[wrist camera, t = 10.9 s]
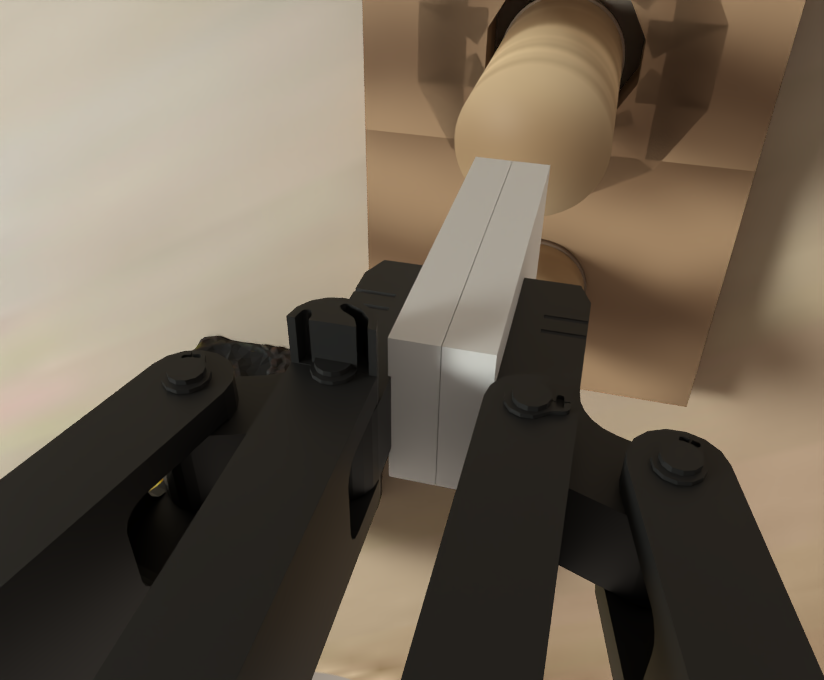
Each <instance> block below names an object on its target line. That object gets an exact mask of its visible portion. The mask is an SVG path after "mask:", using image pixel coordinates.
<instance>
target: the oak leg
mask: <svg viewBox="0 0 824 680" xmlns="http://www.w3.org/2000/svg"><path fill="white" fill-rule="evenodd" d="M624 62H625V43H624V37H623V34H622V31H621V28H620V26H619V24H618V22H617V20H616V19H615V17H614V16H613V14H612V13H611V12H610V11H609V10H608V9H607V8H606V7H605V6H604V4H603V3H602V2H600V1H599V0H534V1H532V2H531V3H529V4H528V5H527V6H525V7H524V8H523V9H522V10H521V11H520V12H519V13H518V14H517V15H516V16H515V18H514V19H513V20H512V22H511V24H510V25H509V27H508V29H507V31H506V33H505V35H504V38H503V40H502V42H501V44H500V45H499V47H498V49H497V50H496V52H495V54H494V55H493V57H492V59H491V60H490V62H489V64H488V65H487V67H486V69H485V70H484V72H483V74H482V75H481V77H480V79H479V80H478V82H477V84H476V85H475V87H474V89H473V90H472V92H471V94H470V96H469V97H468V99H467V101H466V102H465V104H464V106H463V108H462V109H461V112H460V114H459V117H458V120H457V124H456V128H455V137H454V139H455V152H456V158H457V161H458V165H459V167H460V170H461V172H462V174H463V176H464V178H466V176H467V174H468V172H469V170H470V167H471V165H472V163H473V161H474V159H475V157H482V158H491V159H500V160H509V161H512V162H513V161H518V162H527V163H535V164H544V165H550V172H549V180H548V188H547V196H546V204H545V212H544V216H548V215H554V214H557V213H560V212H563V211H565V210H568V209H570V208H572V207H573V206H575V205H577V204H578V203H580V202H581V201H583V200H584V199H585V198H586V197H588V195H589V194H590V193H591V192H592V191H593V190H594V189H595V188H596V187H597V185H598V184H599V183H600V181H601V179H602V178H603V176H604V174H605V172H606V169H607V167H608V164H609V160H610V156H611V150H612V142H613V134H614V126H615V118H616V111H617V103H618V95H619V87H620V79H621V75H622V72H623V68H624Z"/></svg>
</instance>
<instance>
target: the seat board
mask: <svg viewBox="0 0 824 680" xmlns="http://www.w3.org/2000/svg"><path fill="white" fill-rule="evenodd" d="M505 1H506V0H362V5H363V46H364V86H365V126H366V167H367V207H368V248H369V270H370V269H371V268H373V267H374V266H376V265H377V264H379V263H380V262H382V261H383V260H389V261H397V262H404V263H411V264H418V265H423V264H424V262H425V260H426V258H427V256H428V254H429V252H430V250H431V248H432V246H433V244H434V242H435V239H436V237H437V235H438V233H439V231H440V229H441V227H442V225H443V223H444V221H445V219H446V217H447V215H448V213H449V211H450V209H451V207H452V205H453V202H454V200H455V198H456V196H457V194H458V192H459V190H460V188H461V186H462V184H463V182H464V180H465V178H464V176H463V174H462V172H461V170H460V167H459V165H458V161H457V158H456V152H455V139H454V137H455V128H456V124H457V120H458V117H459V114H460V112H461V109H462V108H463V106H464V104H465V102H466V101H467V99H468V97H469V96H470V94H471V92H472V90H473V89H474V87H475V85H476V84H477V82H478V80H479V79H480V77H481V75H482V74H483V72H484V70H485V69H486V67H487V65H488V64H489V62H490V60H491V59H492V57H493V55H494V52H495V38H496V25H497V13H498V12H499V10H500V9H501V7H502V6H503V4H504V3H505ZM631 1H632V4H633V6H634V9H635V12H636V15H637V17H638V20H639V23H640V25H641V28H642V31H643V33H644V36H645V38H644V43H643V49H642V54H641V60H640V65H639V67H638V68H637V70H636V71H635V72H634V73H633V75H632V76H631V77H630V78H629V80H628V81H627V82H626V83H625V85H624V86H623V87H622V88H621V90H620V91H619V95H618V103H617V111H616V118H615V126H614V134H613V142H612V150H611V156H610V160H609V164H608V167H607V169H606V172H605V174H604V176H603V178H602V179H601V181H600V183H599V184H598V185H597V187H596V188H595V189H594V190H593V191H592V192H591V193H590V194H589V195H588V197H586V198H585V199H584V200H583V201H581V202H580V203H578V204H577V205H575V206H573V207H572V208H570V209H568V210H565V211H563V212H560V213H557V214H554V215H548V216H544V220H543V228H542V236H541V244H540V252H539V260H538V268H537V276H536V279H538V280H545V281H552V282H559V283H566V284H573V285H580V286H582V288H583V290H584V292H585V293H586V295H587V297H588V299H589V300H590V302H591V308H590V316H589V323H588V332H587V339H586V347H585V355H584V363H583V370H582V378H581V386H580V389H582V390H588V391H594V392H600V393H606V394H612V395H618V396H624V397H630V398H636V399H642V400H648V401H654V402H660V403H666V404H672V405H678V406H684V407H687V403H688V400H689V397H690V393H691V390H692V386H693V383H694V380H695V376H696V373H697V369H698V366H699V363H700V359H701V356H702V352H703V349H704V346H705V342H706V339H707V335H708V332H709V328H710V325H711V322H712V318H713V315H714V311H715V308H716V305H717V301H718V298H719V294H720V291H721V288H722V284H723V281H724V277H725V274H726V271H727V267H728V264H729V260H730V257H731V253H732V250H733V247H734V243H735V240H736V236H737V233H738V230H739V226H740V223H741V219H742V216H743V213H744V209H745V206H746V202H747V199H748V196H749V192H750V189H751V185H752V182H753V178H754V175H755V172H756V168H757V165H758V161H759V158H760V155H761V151H762V148H763V144H764V141H765V138H766V134H767V131H768V127H769V124H770V121H771V117H772V114H773V110H774V107H775V103H776V100H777V97H778V93H779V90H780V86H781V83H782V80H783V76H784V73H785V69H786V66H787V63H788V59H789V56H790V52H791V49H792V46H793V42H794V39H795V35H796V32H797V28H798V25H799V22H800V18H801V15H802V11H803V8H804V5H805V1H806V0H631Z"/></svg>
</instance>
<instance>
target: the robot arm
mask: <svg viewBox="0 0 824 680" xmlns="http://www.w3.org/2000/svg"><path fill="white" fill-rule="evenodd" d="M549 172H550V165H544V164H535V163H527V162H518V161H513V162H512V161H509V160H500V159H491V158H482V157H475V159H474V161H473V163H472V165H471V167H470V170H469V172H468V174H467V176H466V178H465V180H464V182H463V184H462V186H461V188H460V190H459V192H458V194H457V196H456V198H455V200H454V202H453V205H452V207H451V209H450V211H449V213H448V215H447V217H446V219H445V221H444V223H443V225H442V227H441V229H440V231H439V233H438V235H437V237H436V239H435V242H434V244H433V246H432V248H431V250H430V252H429V254H428V256H427V258H426V260H425V262H424V264H423V265H418V264H411V263H404V262H397V261H389V260H383V261H382V262H380V263H379V264H377V265H376V266H374V267H373V268H371V269H370V270H368V271H367V272H365V274H364V275H363V277H362V279H361V280H360V282H359V284H358V285H357V287H356V291H355V292H353V294H352V295H351V297H350V299H347V298H323V299H317V300H311V301H309V302H307V303H304V304H302V305H300V306H298V307H296V308H295V309H294V310H293V311H291V312H290V313H289V314H288V315H287V325H288V335H289V345H290V355H291V363H290V365H289V366H288V368H287V370H286V371H285V372H283V373H279V374H271V375H259V376H239V377H235V373H234V369H233V367H232V365H231V363H230V362H229V360H228V359H226V358H224V357H223V356H221V355H219V354H218V353H213V352H208V351H204V350H196V351H183V352H180V353H176V354H172V355H169V356H166V357H165V358H163V359H161V360H159V361H157V362H156V363H154V364H152V365H151V366H150V367H148V368H147V369H146V370H144V371H143V372H142V373H140V374H139V375H138V376H136V377H135V378H134V379H132V380H131V381H130V382H128V383H127V384H126V385H124V386H123V387H122V388H121V389H119V390H118V391H117V392H115V393H114V394H113V395H111V396H110V397H109V398H107V399H106V400H105V401H103V402H102V403H101V404H99V405H98V406H97V407H95V408H94V409H93V410H92V411H90V412H89V413H88V414H86V415H85V416H84V417H82V418H81V419H80V420H78V421H77V422H76V423H74V424H73V425H72V426H70V427H69V428H68V429H66V430H65V431H64V432H62V433H61V434H60V435H59V436H57V437H56V438H55V439H53V440H52V441H51V442H49V443H48V444H47V445H45V446H44V447H43V448H41V449H40V450H39V451H37V452H36V453H35V454H33V455H32V456H31V457H29V458H28V459H27V460H26V461H24V462H23V463H22V464H20V465H19V466H18V467H16V468H15V469H14V470H12V471H11V472H10V473H8V474H7V475H6V476H4V477H3V478H2V479H0V680H312V677H313V674H314V672H315V669H316V667H317V664H318V661H319V659H320V656H321V653H322V651H323V648H324V646H325V643H326V640H327V638H328V635H329V632H330V630H331V627H332V625H333V622H334V619H335V617H336V614H337V611H338V609H339V606H340V604H341V601H342V598H343V596H344V593H345V590H346V588H347V585H348V583H349V580H350V577H351V575H352V572H353V569H354V567H355V564H356V562H357V559H358V556H359V554H360V551H361V548H362V546H363V543H364V541H365V538H366V535H367V533H368V530H369V527H370V525H371V522H372V520H373V517H374V514H375V512H376V509H377V506H378V504H379V500H380V491H381V482H380V475H381V472H382V470H383V467H384V465H385V462H386V460H387V457H388V455H389V476H390V477H395V478H400V479H405V480H410V481H415V482H420V483H425V484H430V485H435V484H436V486H440V487H445V488H450V489H455V490H456V492H455V496H454V499H453V503H452V506H451V510H450V513H449V516H448V520H447V523H446V527H445V530H444V534H443V537H442V541H441V544H440V547H439V551H438V554H437V558H436V561H435V565H434V568H433V571H432V575H431V578H430V582H429V585H428V589H427V592H426V595H425V599H424V602H423V606H422V609H421V613H420V616H419V619H418V623H417V626H416V630H415V633H414V637H413V640H412V644H411V647H410V650H409V654H408V657H407V661H406V664H405V668H404V671H403V674H402V678H401V680H543V677H544V669H545V662H546V654H547V647H548V639H549V632H550V624H551V617H552V609H553V602H554V594H555V587H556V579H557V571H558V565H560V566H562V567H564V568H565V569H567V570H569V571H571V572H573V573H575V574H577V575H579V576H581V577H583V578H585V579H587V580H589V581H590V582H592V583H594V584H595V594H596V599H597V604H598V609H599V614H600V618H601V623H602V628H603V633H604V638H605V643H606V648H607V653H608V658H609V663H610V667H611V672H612V677H613V680H824V675H823V673H822V671H821V668H820V666H819V664H818V662H817V659H816V657H815V655H814V653H813V650H812V648H811V646H810V643H809V641H808V639H807V637H806V634H805V632H804V630H803V628H802V625H801V623H800V621H799V618H798V616H797V614H796V612H795V609H794V607H793V605H792V603H791V600H790V598H789V596H788V593H787V591H786V589H785V587H784V584H783V582H782V580H781V578H780V575H779V573H778V571H777V568H776V566H775V564H774V562H773V559H772V557H771V555H770V553H769V550H768V548H767V546H766V543H765V541H764V539H763V537H762V534H761V532H760V530H759V527H758V525H757V523H756V521H755V518H754V516H753V514H752V512H751V509H750V507H749V505H748V502H747V500H746V498H745V496H744V493H743V491H742V489H741V487H740V484H739V482H738V480H737V477H736V475H735V473H734V471H733V468H732V466H731V465H730V463H729V462H728V460H727V459H726V458H725V456H724V455H723V453H722V452H721V451H720V450H718V449H717V448H716V447H714V446H713V445H712V444H710V443H709V442H708V441H706V440H705V439H702V438H700V437H697V436H695V435H692V434H690V433H687V432H683V431H676V430H669V429H662V430H654V431H647V432H645V433H644V434H642V435H640V436H638V437H636V438H634V439H633V441H632V442H631V441H629V440H626V439H624V438H621V437H619V436H617V435H615V434H613V433H611V432H609V431H607V430H605V429H603V428H602V427H600V426H599V425H598V424H597V423H595V422H594V421H593V420H592V419H591V418H590V417H589V416H588V414H587V413H586V412H585V411H584V409H583V406H582V404H581V402H580V386H581V378H582V370H583V363H584V355H585V347H586V339H587V332H588V323H589V316H590V308H591V302H590V300H589V299H588V297H587V295H586V293H585V292H584V290H583V288H582V286H580V285H573V284H566V283H559V282H552V281H545V280H538V279H536V276H537V268H538V260H539V252H540V244H541V236H542V228H543V220H544V212H545V204H546V196H547V188H548V180H549ZM162 479H164V480H163V481H162V482H161V483H160V484H159V485H158V486H156V487H155V488H153V487H154V486H155V485H156V484H157V483H158V482H159V481H160V480H162ZM152 488H153V489H152ZM151 489H152V490H151Z"/></svg>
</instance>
